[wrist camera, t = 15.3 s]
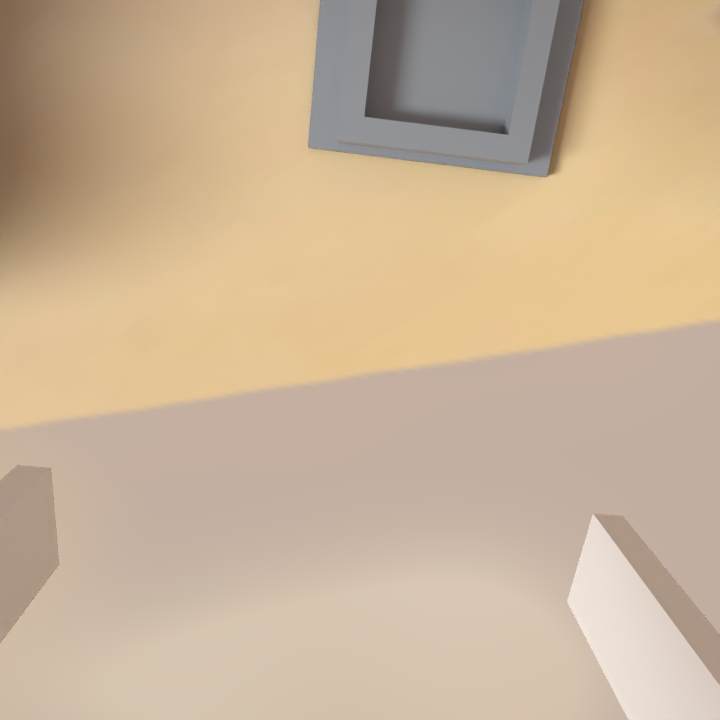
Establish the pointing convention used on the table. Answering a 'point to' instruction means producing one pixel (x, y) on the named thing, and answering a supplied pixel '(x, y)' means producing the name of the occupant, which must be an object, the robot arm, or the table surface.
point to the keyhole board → (443, 80)
